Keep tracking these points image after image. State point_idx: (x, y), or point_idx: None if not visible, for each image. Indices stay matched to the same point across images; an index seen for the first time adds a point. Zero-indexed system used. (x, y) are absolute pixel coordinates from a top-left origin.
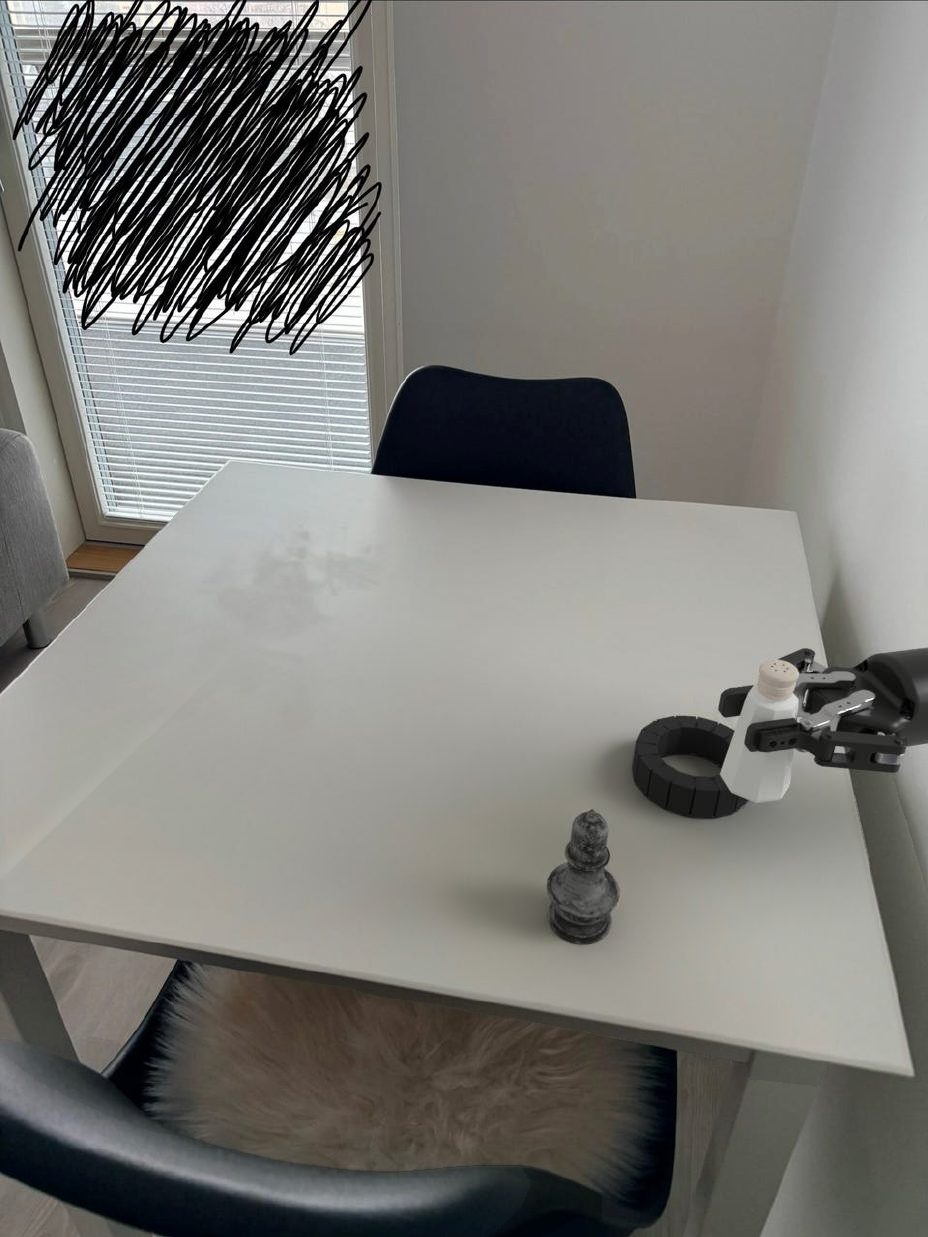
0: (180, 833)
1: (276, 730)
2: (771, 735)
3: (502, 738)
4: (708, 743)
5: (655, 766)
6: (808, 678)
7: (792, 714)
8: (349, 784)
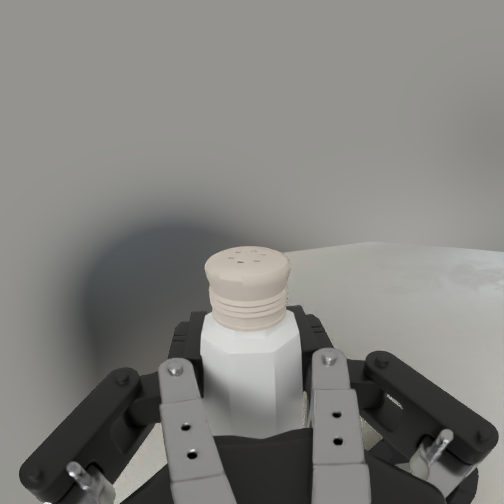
0: (307, 273)
1: (382, 287)
2: (179, 330)
3: (417, 365)
4: (449, 496)
5: (388, 443)
6: (332, 406)
7: (202, 350)
8: (349, 309)
